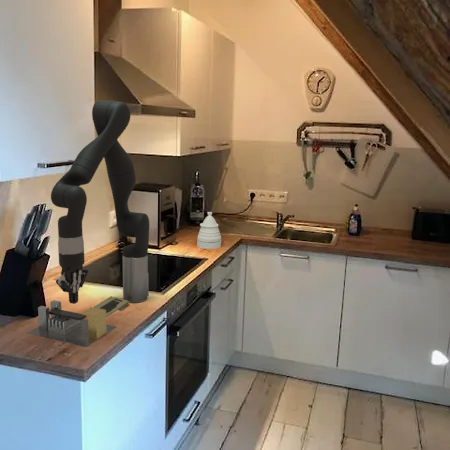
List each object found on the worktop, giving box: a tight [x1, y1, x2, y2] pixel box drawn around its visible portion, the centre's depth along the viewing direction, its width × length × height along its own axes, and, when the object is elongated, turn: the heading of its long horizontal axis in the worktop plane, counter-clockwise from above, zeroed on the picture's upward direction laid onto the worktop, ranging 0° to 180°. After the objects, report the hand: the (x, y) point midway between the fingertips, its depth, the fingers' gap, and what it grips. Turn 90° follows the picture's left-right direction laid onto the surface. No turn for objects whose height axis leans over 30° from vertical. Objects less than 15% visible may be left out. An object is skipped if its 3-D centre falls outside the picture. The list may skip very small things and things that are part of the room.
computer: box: [92, 296, 130, 318], centre depth 178 cm, size 16×8×3 cm, turn 161°
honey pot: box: [196, 211, 222, 250], centre depth 269 cm, size 13×13×18 cm
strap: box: [49, 307, 87, 321], centre depth 159 cm, size 3×14×1 cm, turn 68°
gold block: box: [81, 306, 108, 340], centre depth 156 cm, size 5×6×8 cm
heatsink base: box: [26, 299, 117, 348], centre depth 159 cm, size 16×22×8 cm
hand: (73, 302), depth 157 cm, fingers closed
